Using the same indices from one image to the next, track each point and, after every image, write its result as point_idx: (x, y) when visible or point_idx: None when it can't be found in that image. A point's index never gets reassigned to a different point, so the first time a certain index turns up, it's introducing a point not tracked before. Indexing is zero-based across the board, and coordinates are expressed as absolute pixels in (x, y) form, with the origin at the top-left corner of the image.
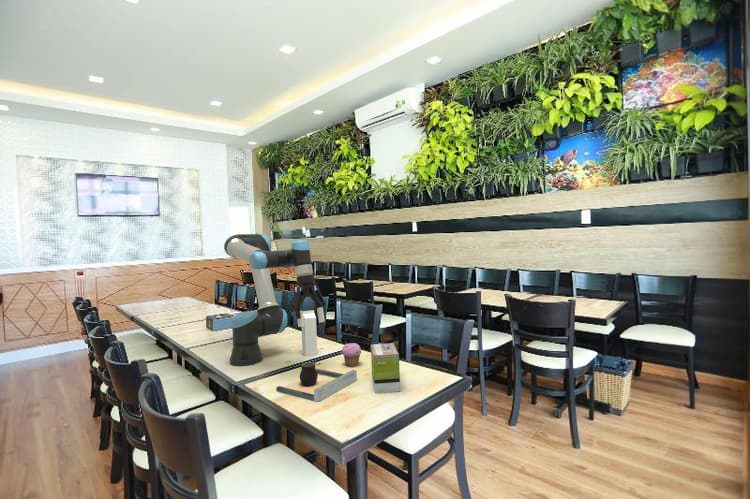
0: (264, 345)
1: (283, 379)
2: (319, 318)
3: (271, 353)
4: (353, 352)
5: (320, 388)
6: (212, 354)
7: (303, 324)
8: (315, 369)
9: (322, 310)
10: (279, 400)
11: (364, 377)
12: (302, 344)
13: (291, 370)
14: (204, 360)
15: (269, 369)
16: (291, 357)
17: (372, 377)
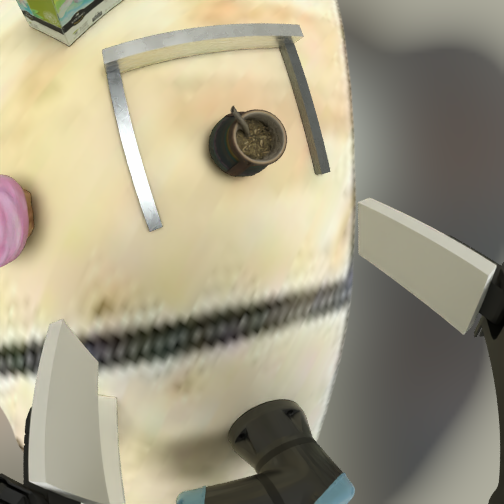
0: (186, 489)
1: (269, 242)
2: (88, 386)
3: (193, 451)
4: (3, 176)
5: (286, 28)
6: None
7: (375, 204)
8: (229, 123)
9: (37, 435)
10: (340, 117)
11: (71, 71)
12: (118, 441)
13: (211, 305)
14: None
15: (256, 350)
16: (158, 410)
17: (92, 16)
